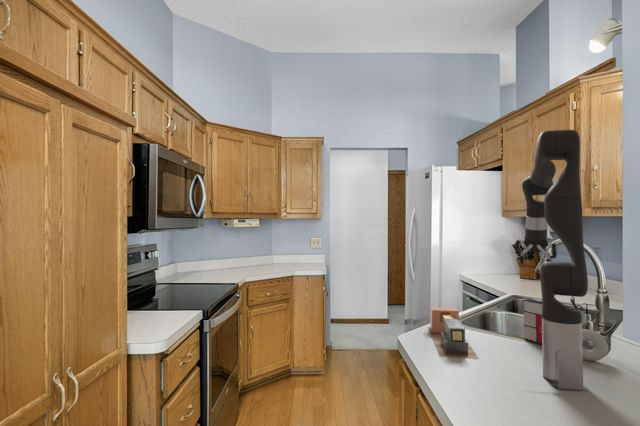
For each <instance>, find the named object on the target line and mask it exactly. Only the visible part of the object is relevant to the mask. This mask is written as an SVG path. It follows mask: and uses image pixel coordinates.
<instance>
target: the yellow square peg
mask: <svg viewBox="0 0 640 426" xmlns="http://www.w3.org/2000/svg"><path fill="white" fill-rule="evenodd" d="M444 319H453V318H452V317H451V316H450V315H443V325H444ZM451 338H452V340H458V341H462V331H461V330H451Z"/></svg>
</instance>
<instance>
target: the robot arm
mask: <svg viewBox="0 0 640 426" xmlns="http://www.w3.org/2000/svg"><path fill="white" fill-rule="evenodd" d="M580 152H581V138H580V135H579V132H578V131H577V130H575V129H555V130H544V131H542V132H541V133H540V134H539V135H538V138H537V140H536V146H535V152H534V153H535V154H534V163H533V169H532V172H531V174H530V176H529V177H526V178H525V179H524V180H523V181H522V183H521V189H522V192H523V196H524V198H525V202H526V203H525V204H526V216H525V217H526V218H525V231H524V232H525V234H524V236H525V237H524V239H520V238H517V239H516V242H515V251H514V253H515V255H518V256H519V262H520V264H521V265H522V266H524V265H526V264H525V263H526V262H525V260H526V253H528V252H529V251H530V252H532V253H534V252H535V253H538V254H539V253H542V255H543V256H545V258H546V259H545V261H544V262H542V263H541V266H540V270H539V272H540V273H539V275H540V277H539V278H540V288H541V301H542V344H541V345H542V378H543V379H544V380H545V381H546V382H547V383H548V384H549V385H551V386H554V387H556V388H557V389H562V390H572V391H573V390H575V391H584V359H583V355H582V346H583V342H582V329H583V322H582V321H583V320H582V319H583V317H582V313H581V311H580V310H578V309H577V308H574V307H571V306H568V305H566V304H564V303H562V302H561V301H559V300H558V299H556V297H555V296H563V297H565V296H566V297H578V298H580V297H581V298H583V297H586V295H587V293H588V289H589V280H588V279H589V278H588V269H587V262H586V261H587V260H586V255H585V245H584V232H583V229H584V228H583V225H584V224H583V223H584V221H583V202H582V193H581V191H582V190H581V180H580V166H581V165H580V159H581V158H580V157H581V155H580V154H581V153H580ZM553 161H565V166H564V169H563V170H562V172H561V174H560V175H559V177H558V178H557V179H556V181H555V182H554V181H553V179H554V178H555V175H556V173H557V172H556V171H557V168H556V164H555V163H554V162H553ZM534 196H544V199H543V200H540V199H539V200H537V199H535V198H534ZM548 226H549V228H550V229H551V230H552V231H553V233H555V235H556V236H557V237H558V238H559V240H560V241H561V242H562V244H563V245H564V247H565V248H566V250H567V252H568V255H569V258H570V260H571V262H569V261H568V262H566V261H552V259H556V258H557V256H558V255H557V254H558V253H557V252H558V251H557V249H558V248H557V242H556V241H554V242H548ZM523 244H524V246H525V248H524V249H523V250H521V246H522V245H523ZM547 247H549V248H550V249H551V252H552V253H551V254H550V252H549V251H548V249H547Z"/></svg>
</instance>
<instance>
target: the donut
mask: <svg viewBox="0 0 640 426" xmlns="http://www.w3.org/2000/svg"><path fill="white" fill-rule="evenodd" d="M584 341H591V342H592V343H593V344H594V348H592V349H586V347H584V346H583V345H582V355H583V361H584V360H585V361H588V362H597V361H601V360H602V359H603V358H605V357H606V355H607V354H608V350H609V345H608V342H607V340H606V339H605V337H603V335H601V333H599V332H597V331H595V330H592V329H589V328H582V343H583V342H584Z"/></svg>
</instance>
